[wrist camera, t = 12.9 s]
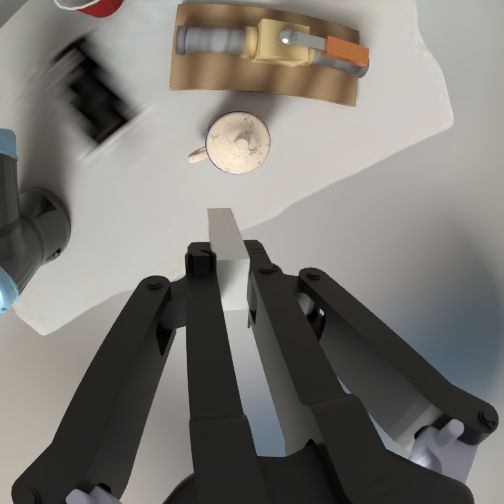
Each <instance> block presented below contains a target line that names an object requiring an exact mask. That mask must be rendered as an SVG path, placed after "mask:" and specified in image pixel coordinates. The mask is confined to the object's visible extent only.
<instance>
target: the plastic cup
mask: <svg viewBox="0 0 504 504" xmlns="http://www.w3.org/2000/svg"><path fill="white" fill-rule="evenodd" d="M54 2H55V3H56V4H57V6H58V7H59V8H63V9H67V10H77V11H80V12H83V13H85V14H89V15H92V16H95V17H106V16H109V15H111V14H113V13H114V12H115V11H116V10H117V9H118V8H119V7H120V5H121V2H122V0H54Z"/></svg>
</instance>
